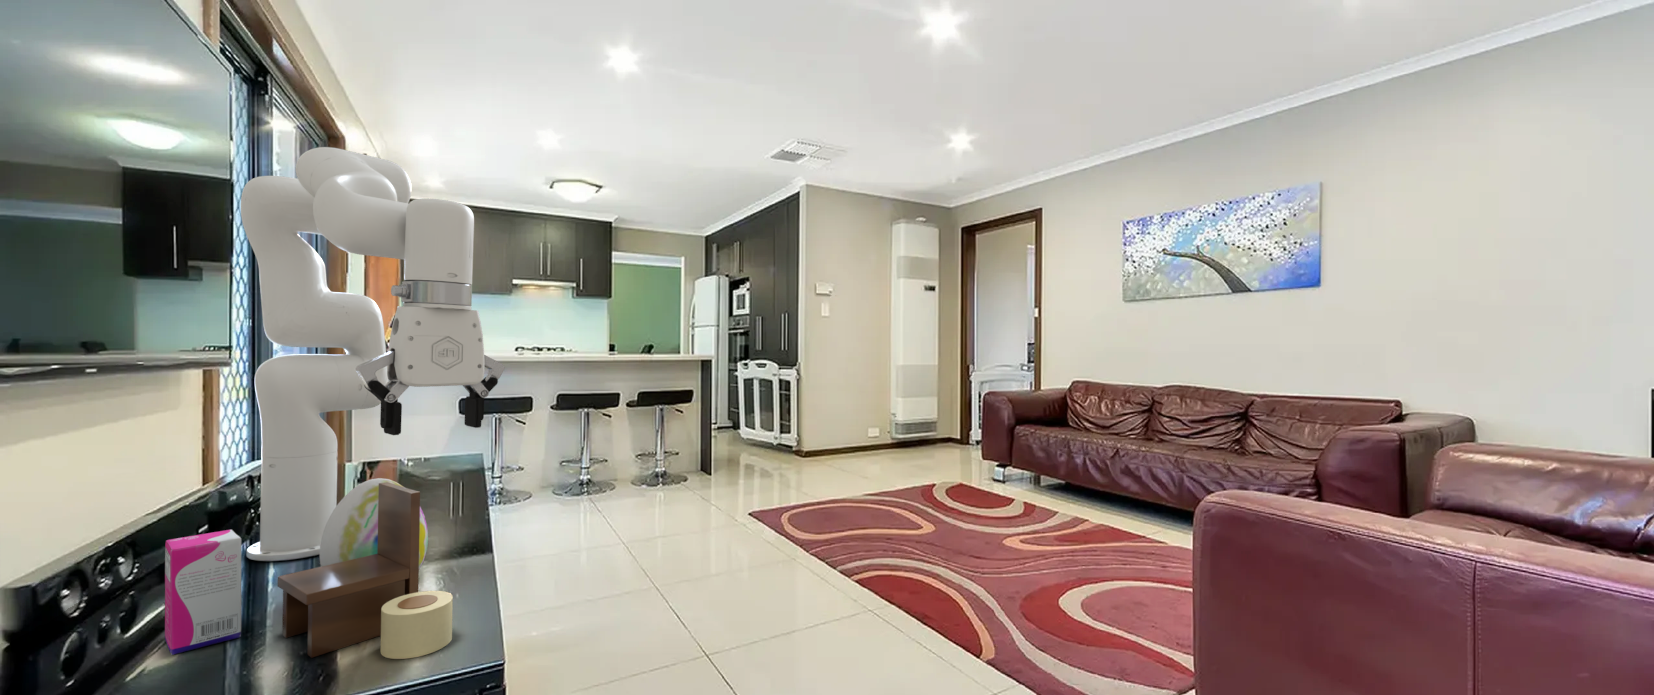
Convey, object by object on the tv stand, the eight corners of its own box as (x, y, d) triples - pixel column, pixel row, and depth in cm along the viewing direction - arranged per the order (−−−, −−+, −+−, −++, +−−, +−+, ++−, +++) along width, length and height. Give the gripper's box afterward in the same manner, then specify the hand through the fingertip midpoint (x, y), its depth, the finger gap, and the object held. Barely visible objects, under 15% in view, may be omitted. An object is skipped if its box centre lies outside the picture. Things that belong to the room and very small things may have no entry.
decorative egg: (361, 610, 80) (363, 492, 80) (296, 596, 84) (298, 483, 84) (447, 577, 92) (449, 474, 92) (386, 566, 96) (388, 467, 96)
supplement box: (232, 622, 76) (234, 527, 76) (241, 637, 73) (243, 537, 73) (163, 639, 72) (164, 538, 72) (169, 656, 68) (170, 549, 68)
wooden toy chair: (276, 637, 73) (278, 498, 73) (385, 605, 82) (387, 482, 82) (305, 660, 68) (308, 510, 68) (417, 623, 77) (420, 492, 77)
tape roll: (397, 665, 67) (398, 619, 67) (369, 647, 71) (370, 604, 71) (463, 641, 73) (464, 598, 73) (434, 626, 77) (435, 585, 77)
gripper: (372, 291, 73) (368, 441, 73) (519, 302, 87) (515, 427, 87) (347, 292, 77) (343, 433, 77) (490, 302, 91) (486, 421, 91)
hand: (434, 430), depth 82 cm, fingers open, 9 cm apart
